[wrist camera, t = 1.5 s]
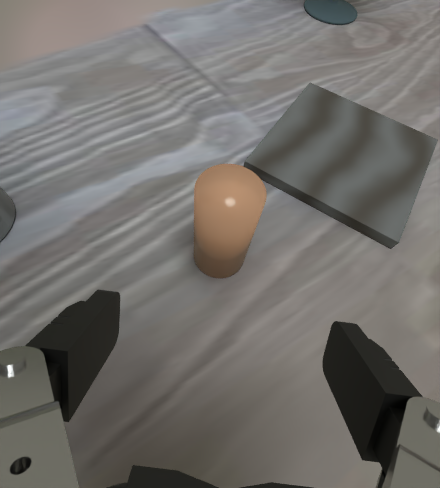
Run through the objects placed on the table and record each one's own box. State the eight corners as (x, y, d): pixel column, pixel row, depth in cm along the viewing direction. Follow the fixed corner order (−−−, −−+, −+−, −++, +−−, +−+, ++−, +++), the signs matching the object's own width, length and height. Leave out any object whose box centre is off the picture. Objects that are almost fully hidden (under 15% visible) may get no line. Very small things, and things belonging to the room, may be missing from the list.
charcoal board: (243, 169, 38) (244, 161, 37) (306, 91, 47) (310, 82, 46) (390, 248, 34) (398, 242, 33) (430, 147, 43) (437, 139, 42)
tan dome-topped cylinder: (183, 260, 32) (179, 197, 22) (211, 224, 34) (219, 153, 24) (227, 288, 30) (243, 235, 21) (253, 248, 33) (278, 185, 23)
